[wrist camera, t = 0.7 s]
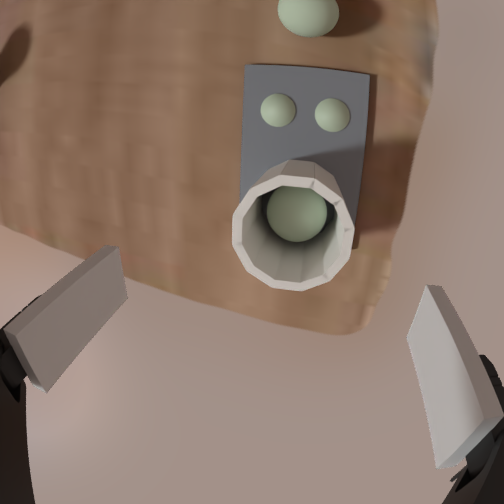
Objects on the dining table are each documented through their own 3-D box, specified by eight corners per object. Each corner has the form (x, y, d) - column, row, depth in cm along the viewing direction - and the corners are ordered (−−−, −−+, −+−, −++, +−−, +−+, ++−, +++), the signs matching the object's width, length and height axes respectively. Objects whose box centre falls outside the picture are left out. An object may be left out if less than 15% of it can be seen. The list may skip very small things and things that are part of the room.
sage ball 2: (272, 174, 32) (264, 185, 27) (328, 180, 31) (331, 192, 26) (269, 226, 35) (260, 247, 29) (322, 232, 34) (323, 255, 28)
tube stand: (246, 66, 28) (216, 42, 19) (368, 76, 26) (393, 55, 17) (240, 237, 37) (212, 281, 27) (349, 250, 35) (360, 299, 25)
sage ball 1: (281, -4, 24) (275, -26, 19) (336, 0, 23) (340, -22, 18) (280, 41, 27) (273, 25, 21) (336, 46, 26) (341, 30, 20)
